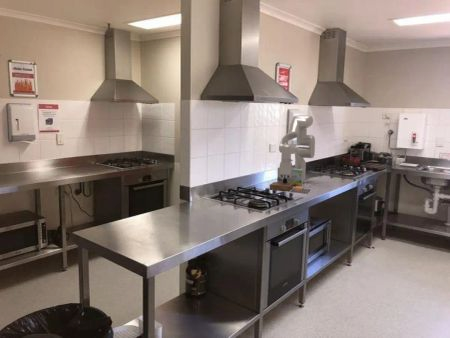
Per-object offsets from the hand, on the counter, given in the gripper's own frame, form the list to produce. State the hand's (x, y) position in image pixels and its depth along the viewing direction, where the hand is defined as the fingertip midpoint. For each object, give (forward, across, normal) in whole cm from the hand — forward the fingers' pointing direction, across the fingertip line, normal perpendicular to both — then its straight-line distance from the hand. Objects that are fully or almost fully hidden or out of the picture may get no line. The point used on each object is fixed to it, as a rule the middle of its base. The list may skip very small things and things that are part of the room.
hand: (284, 183), depth 295 cm
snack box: (+5, -1, -18) cm, 19 cm away
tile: (+2, -11, 0) cm, 11 cm away
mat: (+5, -13, 0) cm, 14 cm away
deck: (+5, +3, 0) cm, 6 cm away
